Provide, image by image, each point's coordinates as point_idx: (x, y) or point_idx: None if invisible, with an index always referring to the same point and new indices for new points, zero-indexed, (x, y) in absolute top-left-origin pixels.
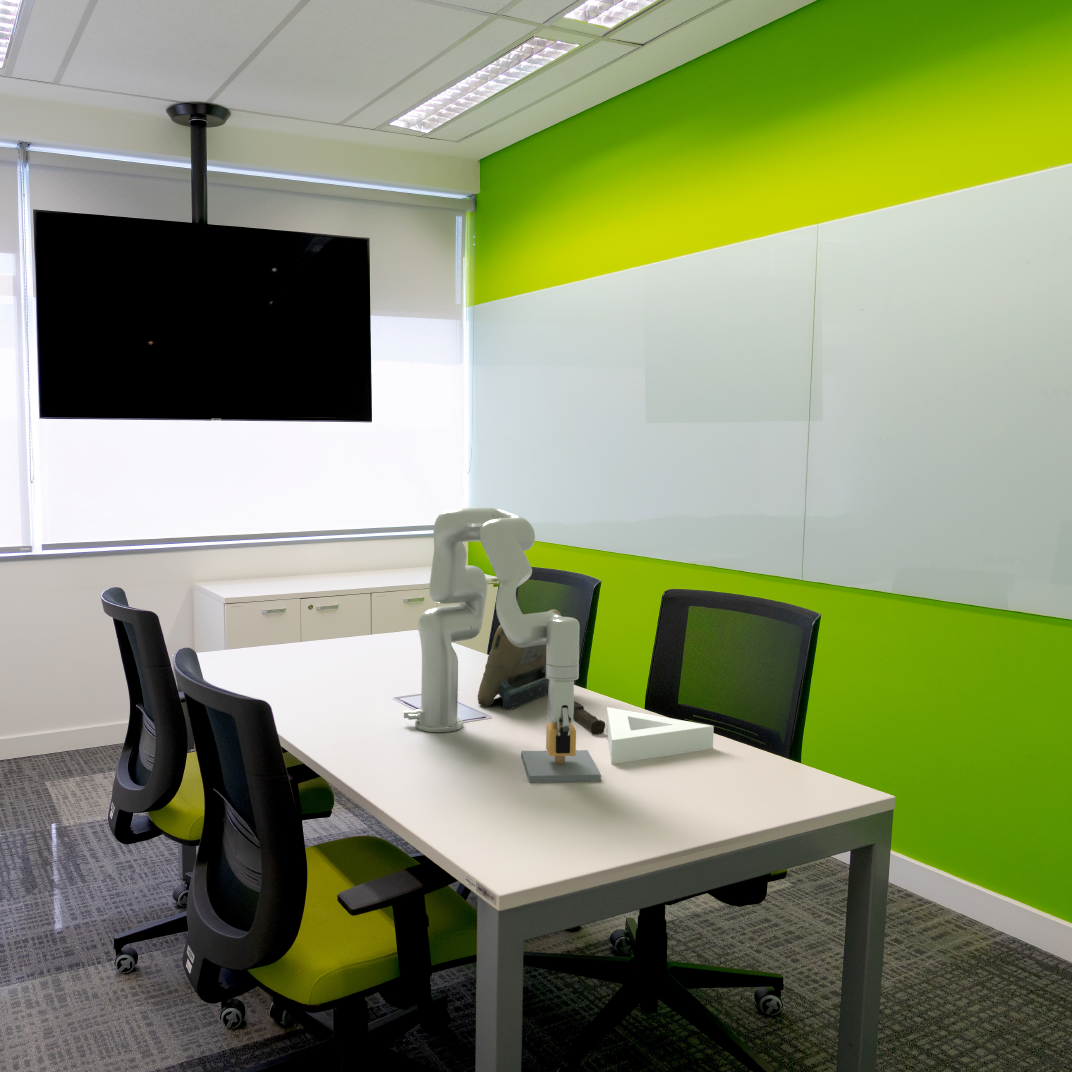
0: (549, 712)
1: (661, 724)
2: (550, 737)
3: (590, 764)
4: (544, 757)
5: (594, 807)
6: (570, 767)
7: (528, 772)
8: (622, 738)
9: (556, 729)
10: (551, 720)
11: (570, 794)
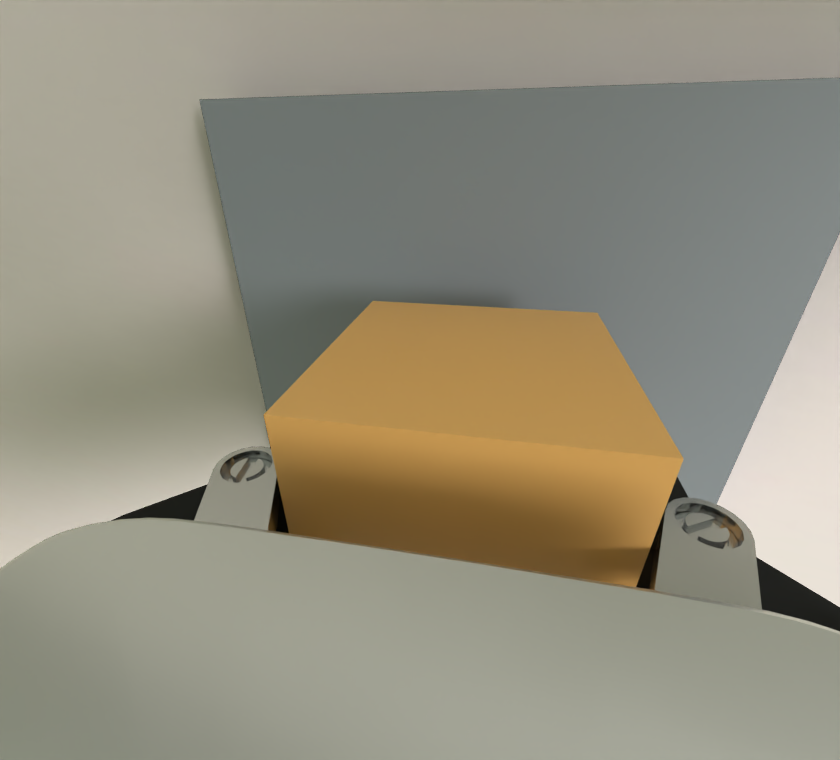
0: (349, 708)
1: None
2: (312, 375)
3: None
4: (615, 281)
5: (10, 377)
6: None
7: (267, 97)
8: None
9: (307, 494)
10: (109, 544)
11: (111, 318)
